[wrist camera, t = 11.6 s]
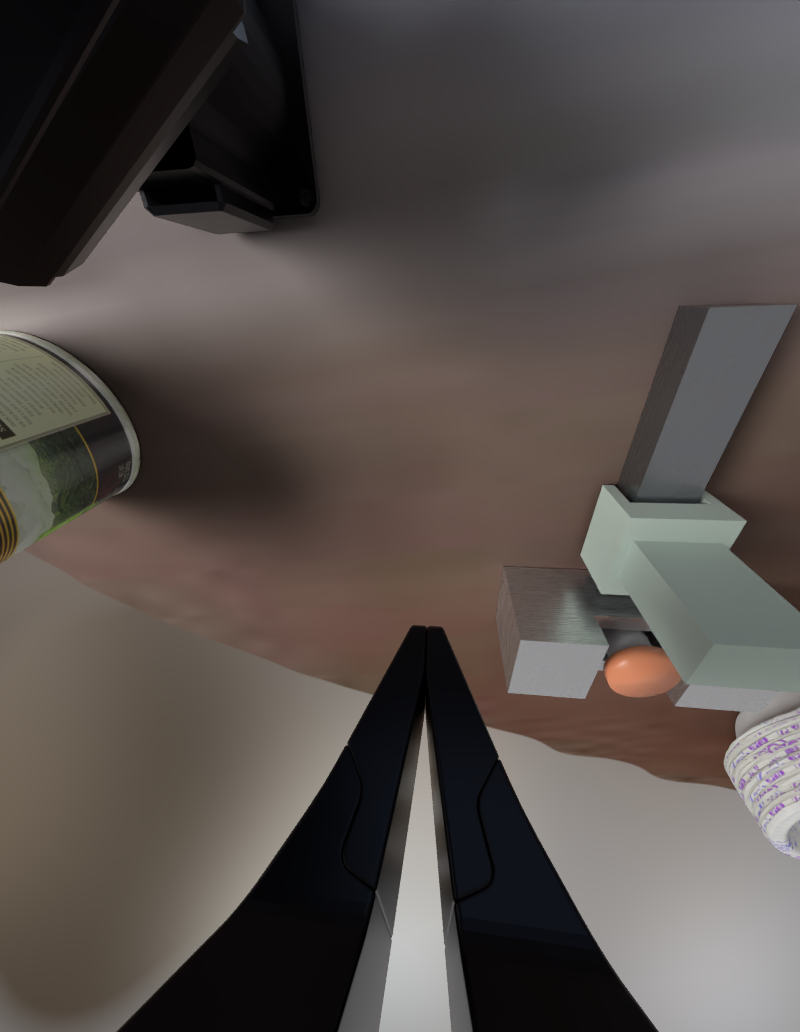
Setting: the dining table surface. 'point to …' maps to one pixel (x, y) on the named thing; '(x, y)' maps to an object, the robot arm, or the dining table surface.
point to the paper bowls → (770, 769)
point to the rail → (699, 398)
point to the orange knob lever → (637, 665)
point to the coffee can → (56, 441)
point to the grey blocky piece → (581, 639)
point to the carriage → (695, 590)
